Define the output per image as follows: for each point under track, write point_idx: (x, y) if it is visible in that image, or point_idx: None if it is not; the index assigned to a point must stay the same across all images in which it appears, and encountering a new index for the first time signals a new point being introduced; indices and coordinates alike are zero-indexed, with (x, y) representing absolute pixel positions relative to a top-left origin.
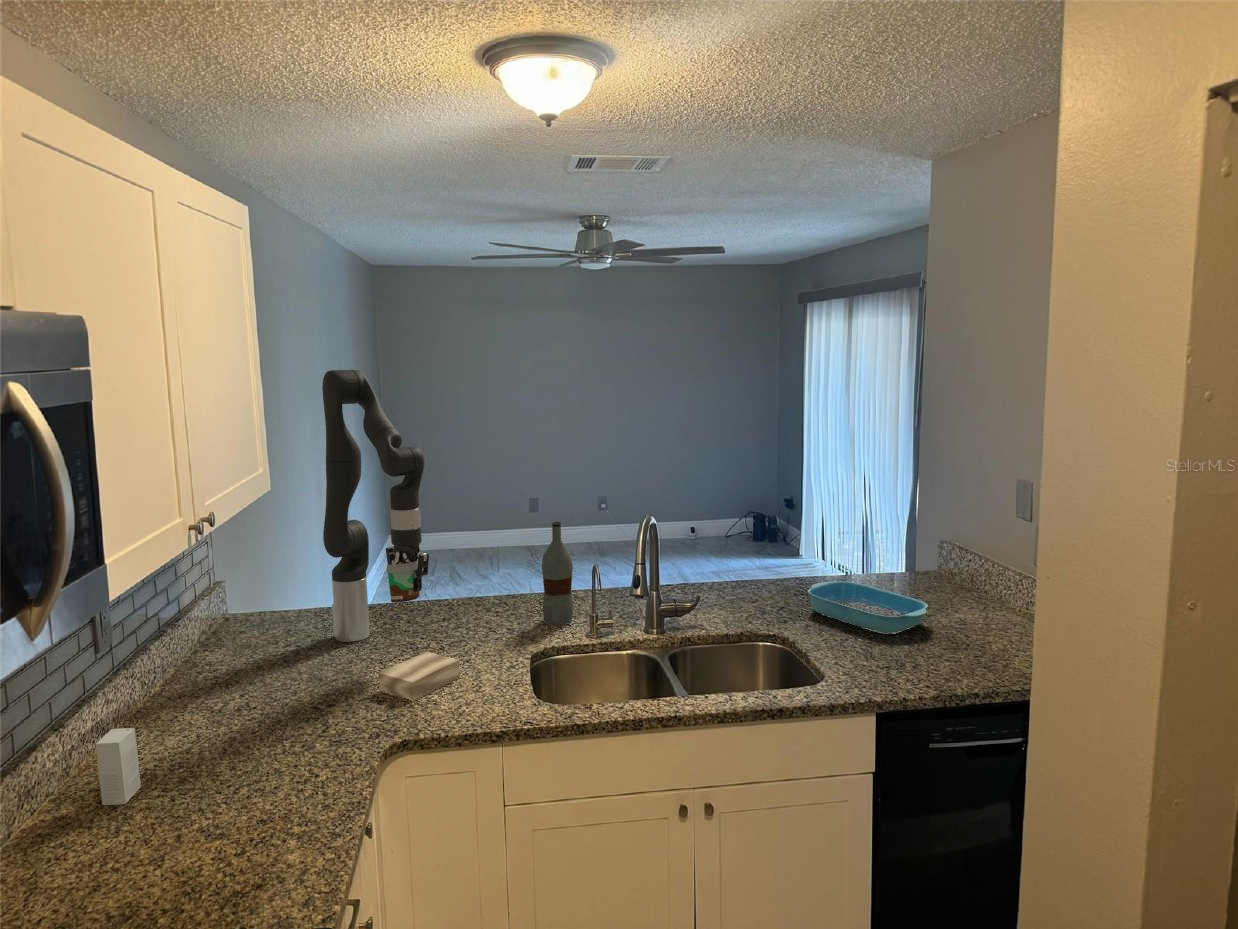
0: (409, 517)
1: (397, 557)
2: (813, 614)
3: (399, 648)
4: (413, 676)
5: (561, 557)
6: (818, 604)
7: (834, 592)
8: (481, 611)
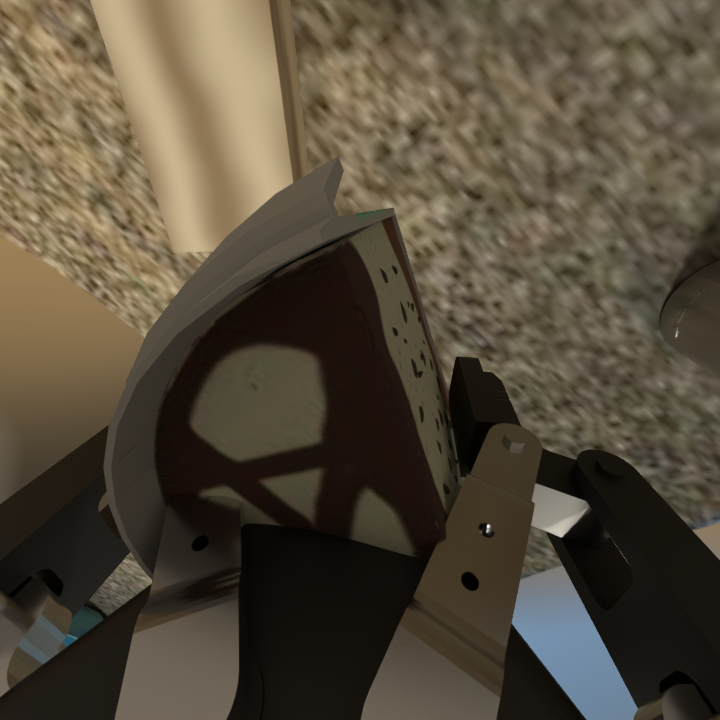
0: None
1: (433, 628)
2: (97, 607)
3: (500, 309)
4: (131, 25)
5: None
6: (71, 621)
7: None
8: None
